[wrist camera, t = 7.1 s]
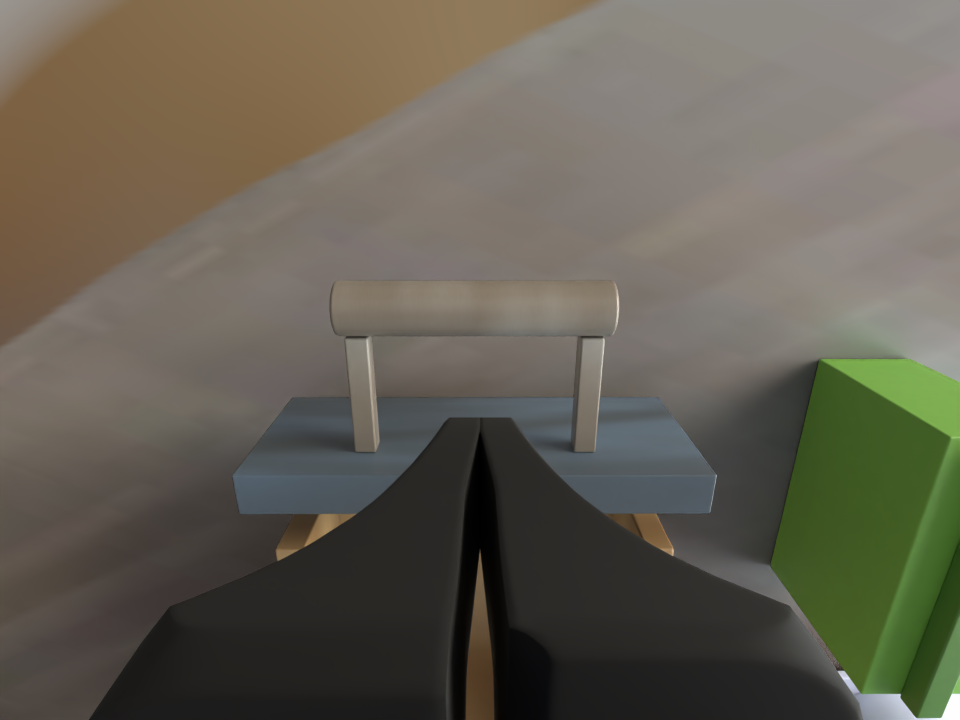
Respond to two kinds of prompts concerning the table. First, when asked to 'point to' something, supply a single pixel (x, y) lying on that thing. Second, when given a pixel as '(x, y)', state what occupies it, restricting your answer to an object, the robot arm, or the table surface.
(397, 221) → the table surface
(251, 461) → the drawer
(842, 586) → the green ridged box
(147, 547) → the table surface
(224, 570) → the table surface
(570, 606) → the robot arm
